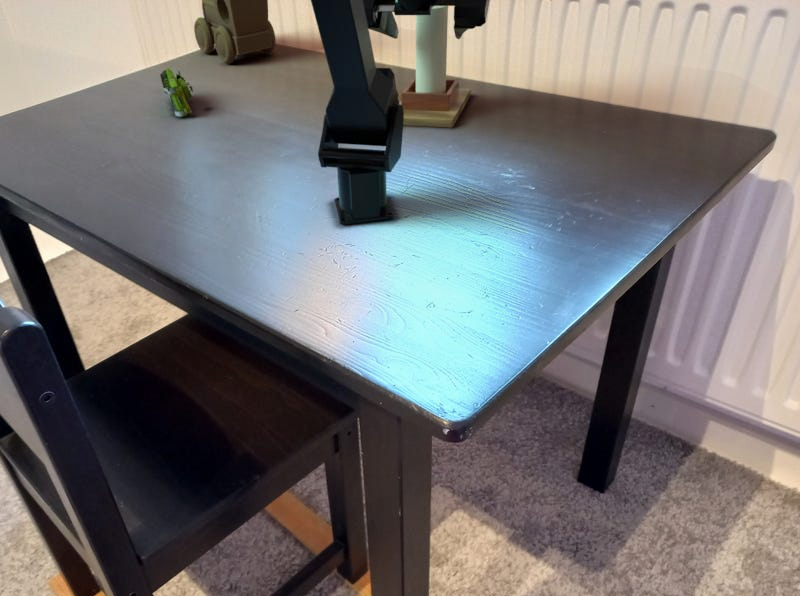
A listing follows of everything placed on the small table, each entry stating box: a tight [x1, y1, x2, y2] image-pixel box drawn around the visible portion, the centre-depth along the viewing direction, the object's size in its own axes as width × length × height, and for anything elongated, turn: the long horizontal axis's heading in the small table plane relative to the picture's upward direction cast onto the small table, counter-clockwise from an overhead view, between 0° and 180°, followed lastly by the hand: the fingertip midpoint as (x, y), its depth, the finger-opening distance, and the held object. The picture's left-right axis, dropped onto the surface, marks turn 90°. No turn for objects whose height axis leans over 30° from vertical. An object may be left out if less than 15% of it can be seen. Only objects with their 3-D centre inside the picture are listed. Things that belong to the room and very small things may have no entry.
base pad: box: [399, 77, 472, 129], centre depth 110 cm, size 14×10×4 cm
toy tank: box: [158, 67, 194, 118], centre depth 123 cm, size 7×19×10 cm
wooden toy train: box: [193, 0, 277, 65], centre depth 141 cm, size 20×11×17 cm, turn 31°
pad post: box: [415, 6, 449, 93], centre depth 106 cm, size 5×5×14 cm
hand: (427, 35), depth 102 cm, fingers open, 9 cm apart
